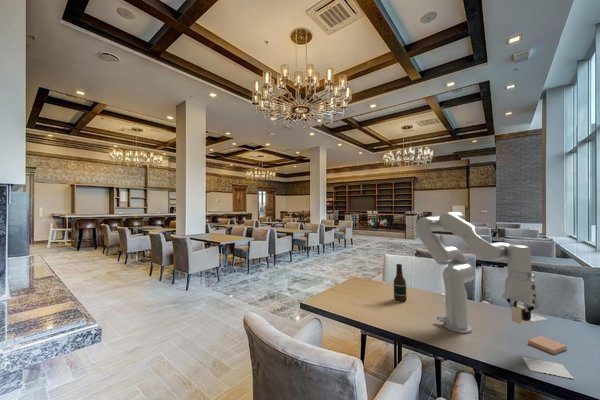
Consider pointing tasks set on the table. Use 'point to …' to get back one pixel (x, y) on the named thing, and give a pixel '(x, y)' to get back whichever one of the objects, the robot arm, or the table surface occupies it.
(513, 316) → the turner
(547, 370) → the mat
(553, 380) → the table surface
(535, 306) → the robot arm
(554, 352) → the tile
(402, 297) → the beer bottle
